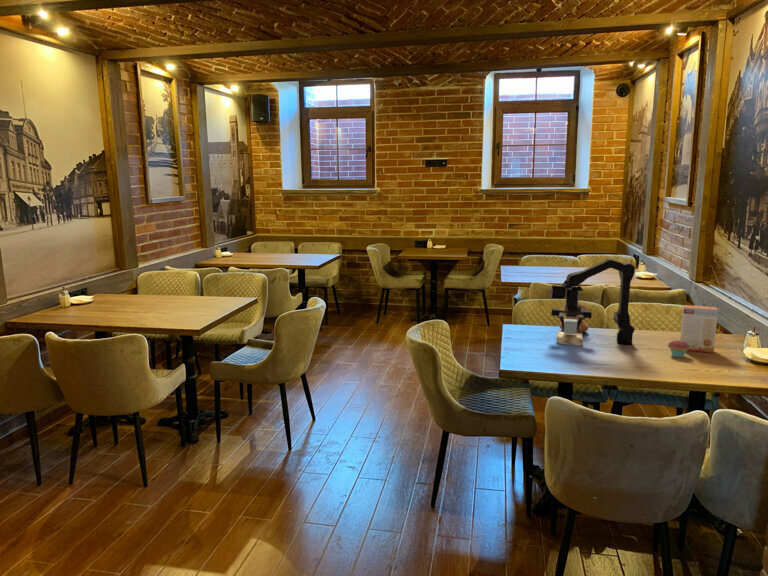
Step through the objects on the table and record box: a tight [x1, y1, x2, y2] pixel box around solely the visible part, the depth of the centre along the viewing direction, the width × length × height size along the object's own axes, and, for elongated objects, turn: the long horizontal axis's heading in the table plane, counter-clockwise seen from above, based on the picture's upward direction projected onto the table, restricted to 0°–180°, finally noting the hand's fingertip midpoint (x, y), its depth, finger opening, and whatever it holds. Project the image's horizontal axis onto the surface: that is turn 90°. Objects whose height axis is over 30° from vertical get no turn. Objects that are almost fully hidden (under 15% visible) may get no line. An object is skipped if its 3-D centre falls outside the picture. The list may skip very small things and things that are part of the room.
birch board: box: [556, 330, 584, 346], centre depth 277 cm, size 12×12×3 cm
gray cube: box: [563, 318, 577, 334], centre depth 276 cm, size 6×6×6 cm
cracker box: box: [679, 304, 719, 354], centre depth 261 cm, size 14×6×21 cm, turn 65°
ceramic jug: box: [559, 303, 589, 334], centre depth 294 cm, size 18×14×14 cm
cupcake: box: [667, 332, 690, 358], centre depth 253 cm, size 9×8×12 cm
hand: (570, 329), depth 276 cm, fingers closed on gray cube, 6 cm apart
